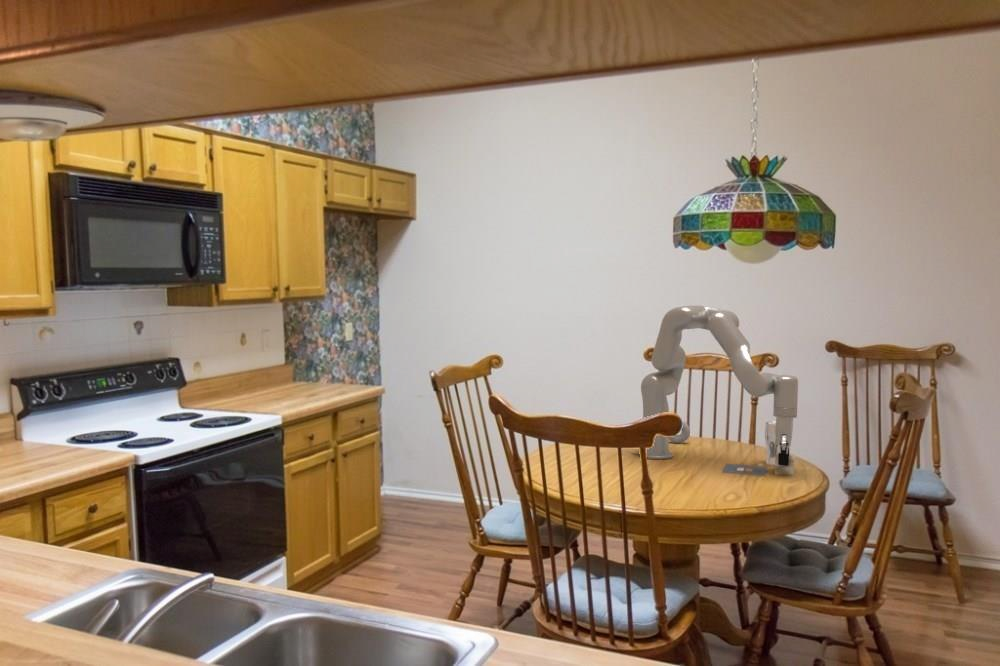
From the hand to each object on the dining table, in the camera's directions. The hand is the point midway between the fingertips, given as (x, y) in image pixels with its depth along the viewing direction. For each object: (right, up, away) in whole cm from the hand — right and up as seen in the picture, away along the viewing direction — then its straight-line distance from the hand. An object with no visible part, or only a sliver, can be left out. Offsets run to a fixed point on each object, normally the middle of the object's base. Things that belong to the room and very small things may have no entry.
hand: (783, 461), depth 254 cm
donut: (-24, -2, +52) cm, 57 cm away
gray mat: (-12, -4, +5) cm, 13 cm away
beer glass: (+2, -4, +13) cm, 14 cm away
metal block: (0, -4, 0) cm, 4 cm away
